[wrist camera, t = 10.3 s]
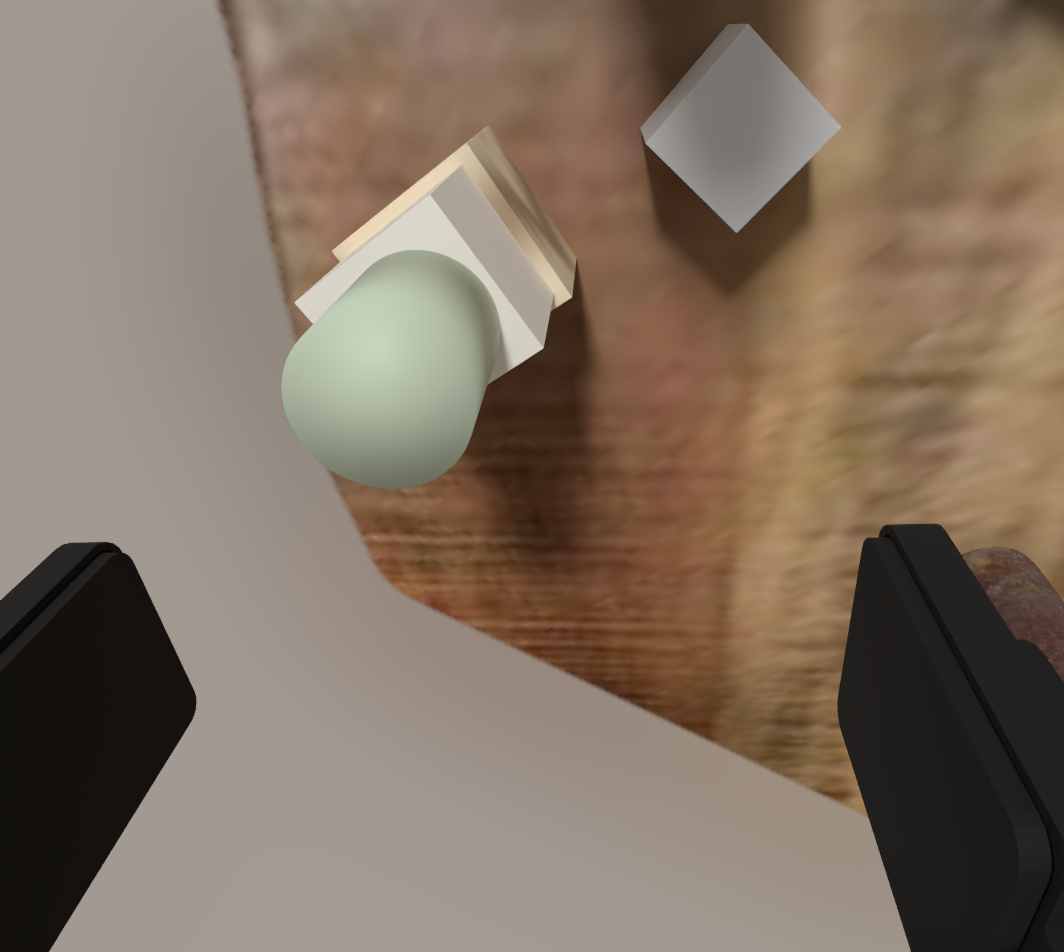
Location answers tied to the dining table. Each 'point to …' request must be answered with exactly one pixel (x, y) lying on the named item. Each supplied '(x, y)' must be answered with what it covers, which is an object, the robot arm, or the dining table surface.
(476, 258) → the tower top
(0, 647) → the robot arm
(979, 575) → the candle
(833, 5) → the dining table surface
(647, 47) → the dining table surface
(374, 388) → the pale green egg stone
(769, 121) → the grey cube
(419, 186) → the tower base
